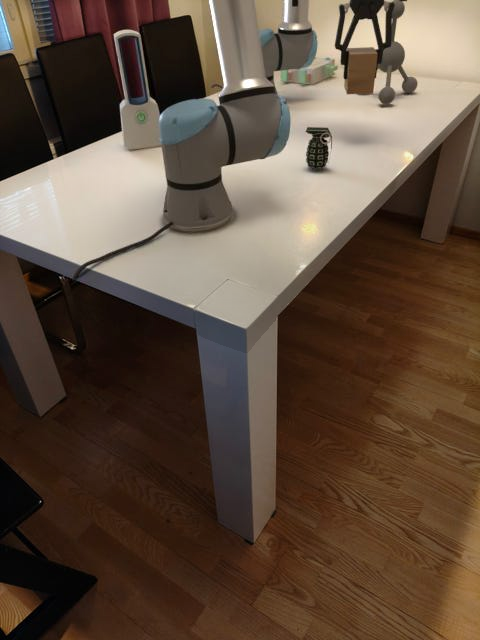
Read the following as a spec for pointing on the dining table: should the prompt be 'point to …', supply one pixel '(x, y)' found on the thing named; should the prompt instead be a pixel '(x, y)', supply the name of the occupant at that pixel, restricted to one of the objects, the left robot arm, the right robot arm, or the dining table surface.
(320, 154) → the grenade
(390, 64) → the molecular model
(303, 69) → the decorative block
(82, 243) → the dining table surface
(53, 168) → the dining table surface
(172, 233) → the dining table surface
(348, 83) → the block
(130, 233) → the dining table surface
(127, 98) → the electronic device
